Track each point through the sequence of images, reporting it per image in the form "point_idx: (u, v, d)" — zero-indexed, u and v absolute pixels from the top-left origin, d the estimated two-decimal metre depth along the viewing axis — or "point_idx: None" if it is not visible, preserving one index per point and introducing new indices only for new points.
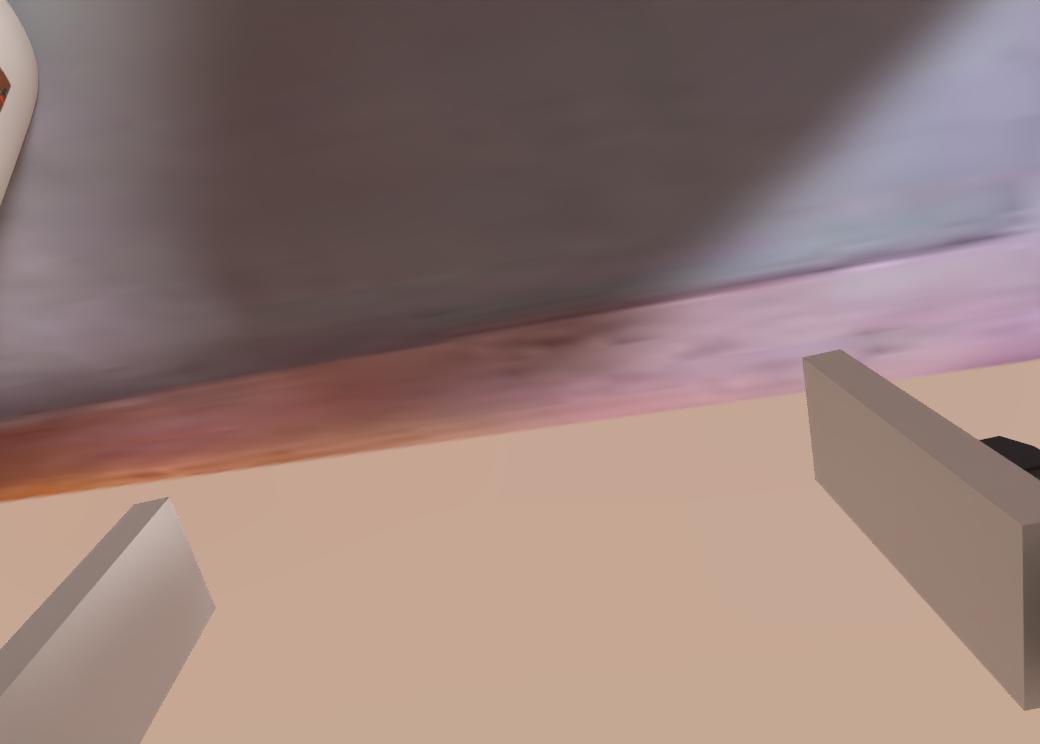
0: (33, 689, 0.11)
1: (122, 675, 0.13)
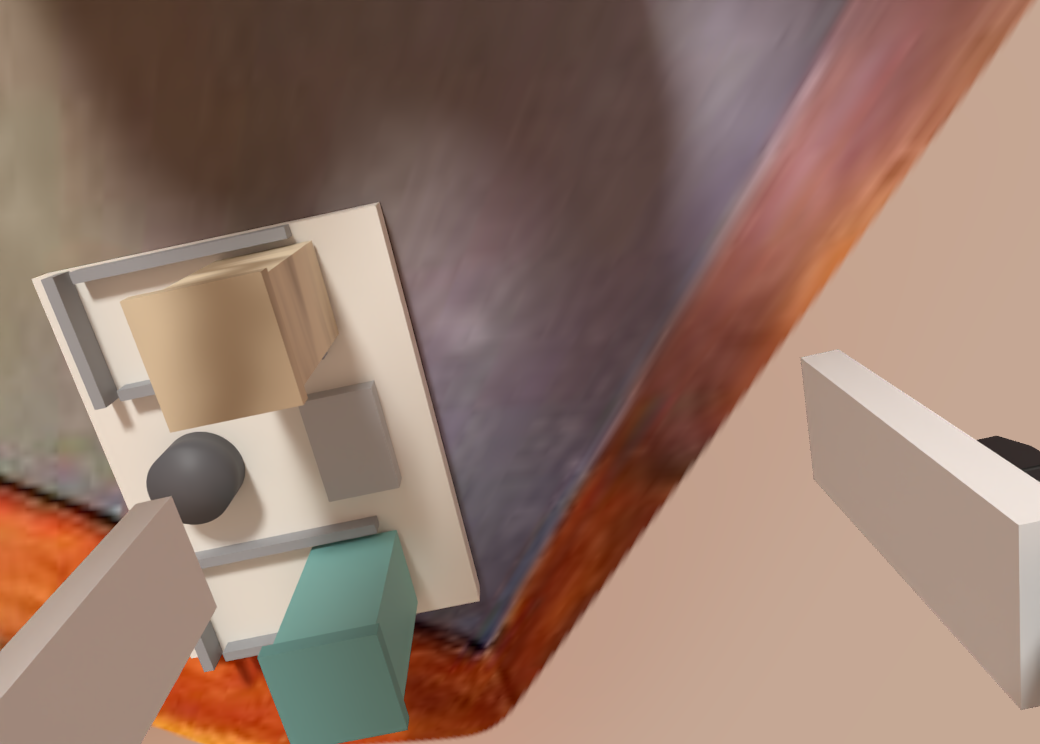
0: (36, 687, 0.11)
1: (124, 674, 0.13)
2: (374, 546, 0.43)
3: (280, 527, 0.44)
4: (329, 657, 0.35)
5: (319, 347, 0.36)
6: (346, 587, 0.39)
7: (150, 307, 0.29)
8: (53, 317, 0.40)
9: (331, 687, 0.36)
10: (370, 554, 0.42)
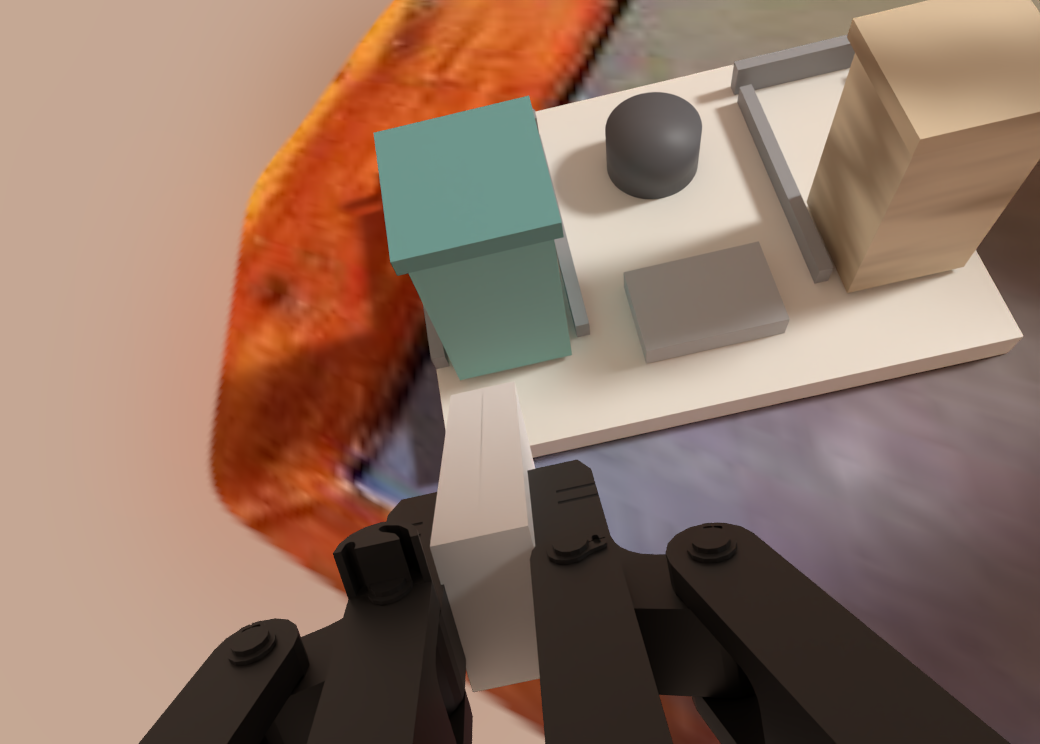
0: None
1: None
2: None
3: (574, 231, 0.36)
4: (525, 169, 0.25)
5: (888, 232, 0.29)
6: None
7: (1016, 3, 0.26)
8: None
9: (475, 172, 0.26)
10: None
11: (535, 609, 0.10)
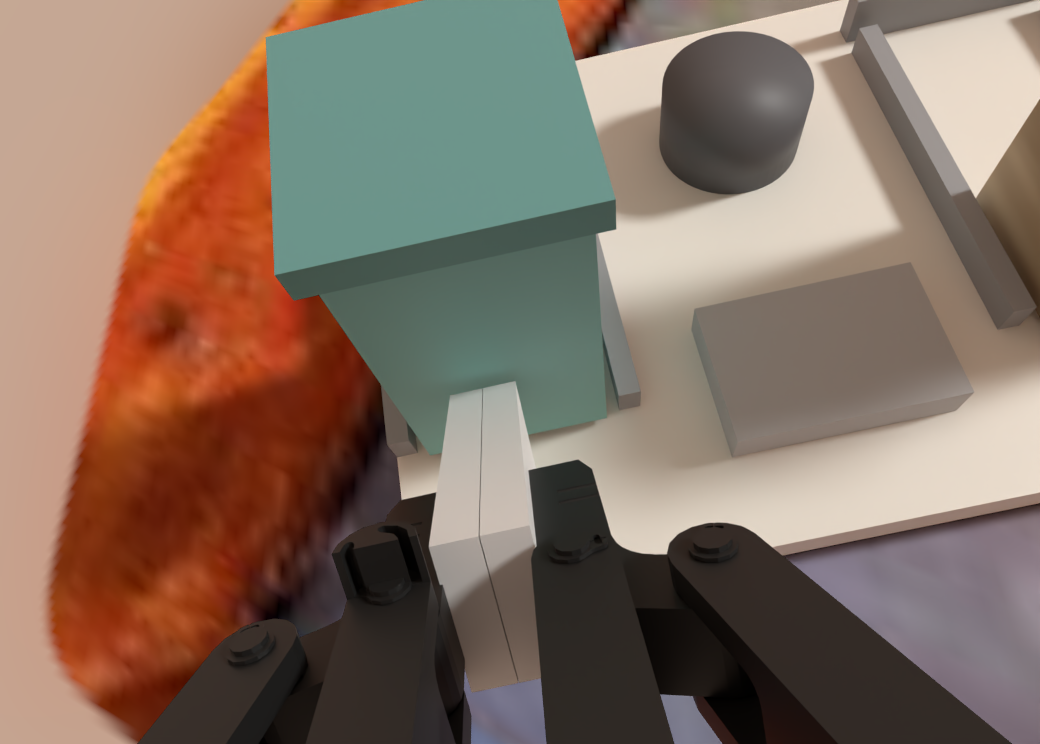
0: None
1: None
2: None
3: (611, 242, 0.24)
4: (542, 99, 0.13)
5: None
6: None
7: None
8: None
9: (446, 104, 0.13)
10: None
11: (536, 609, 0.10)
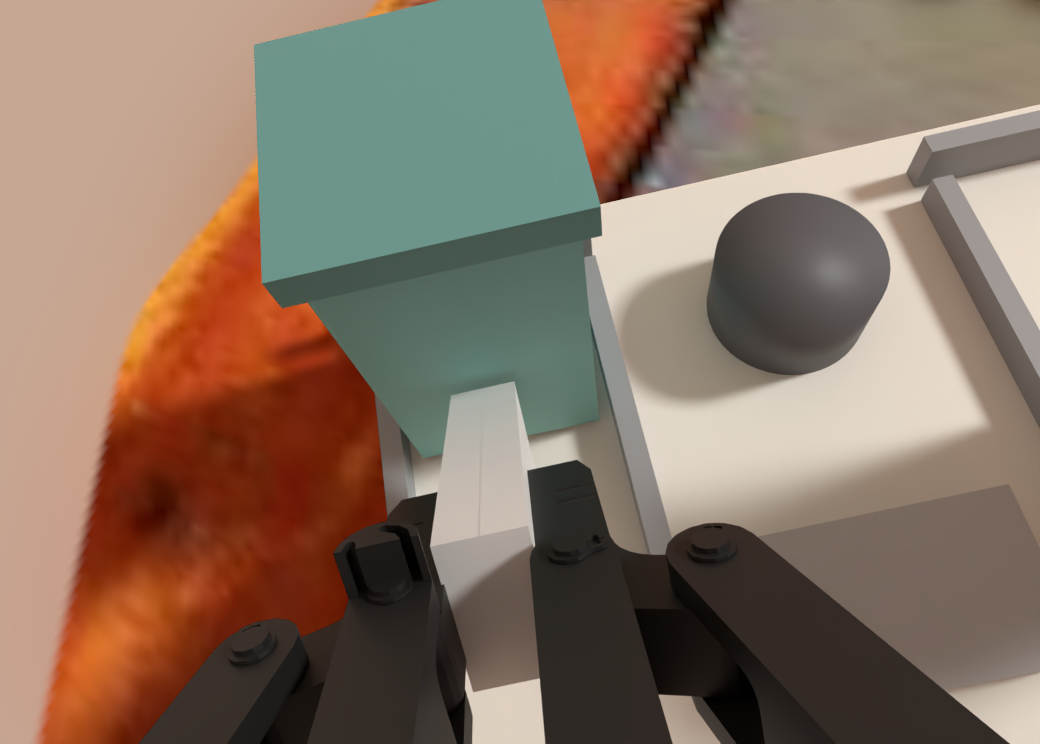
0: None
1: None
2: None
3: (656, 431, 0.21)
4: (528, 106, 0.13)
5: None
6: None
7: None
8: None
9: (433, 112, 0.14)
10: None
11: (535, 609, 0.10)
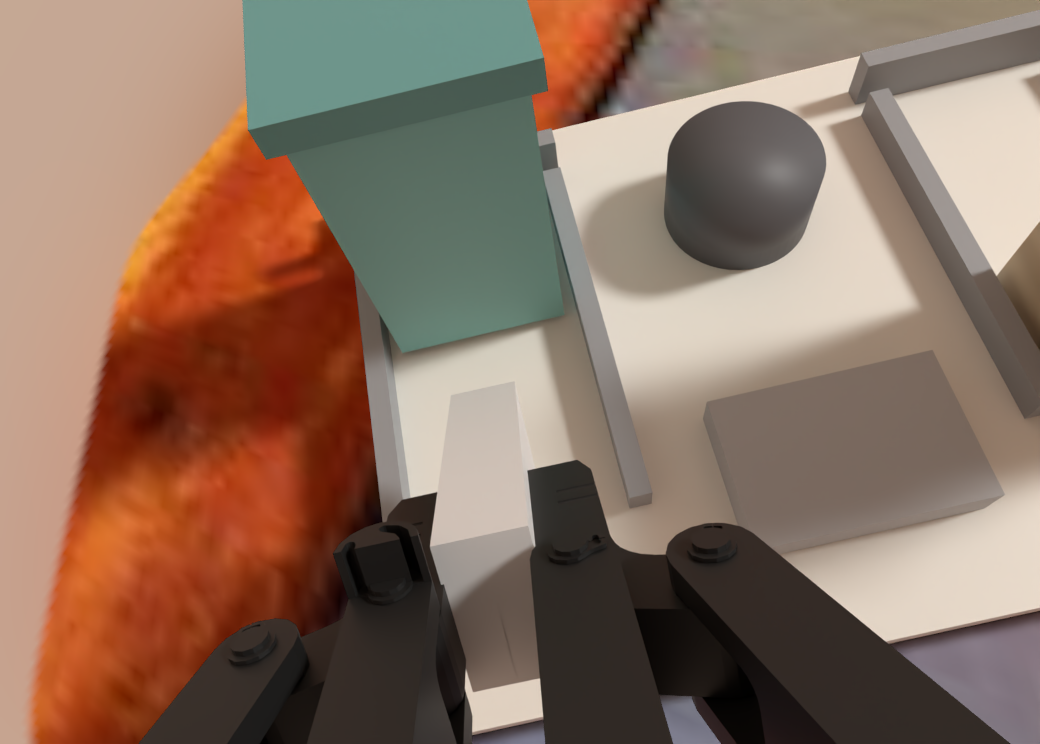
0: None
1: None
2: None
3: (617, 322, 0.23)
4: None
5: None
6: None
7: None
8: None
9: None
10: None
11: (535, 609, 0.10)
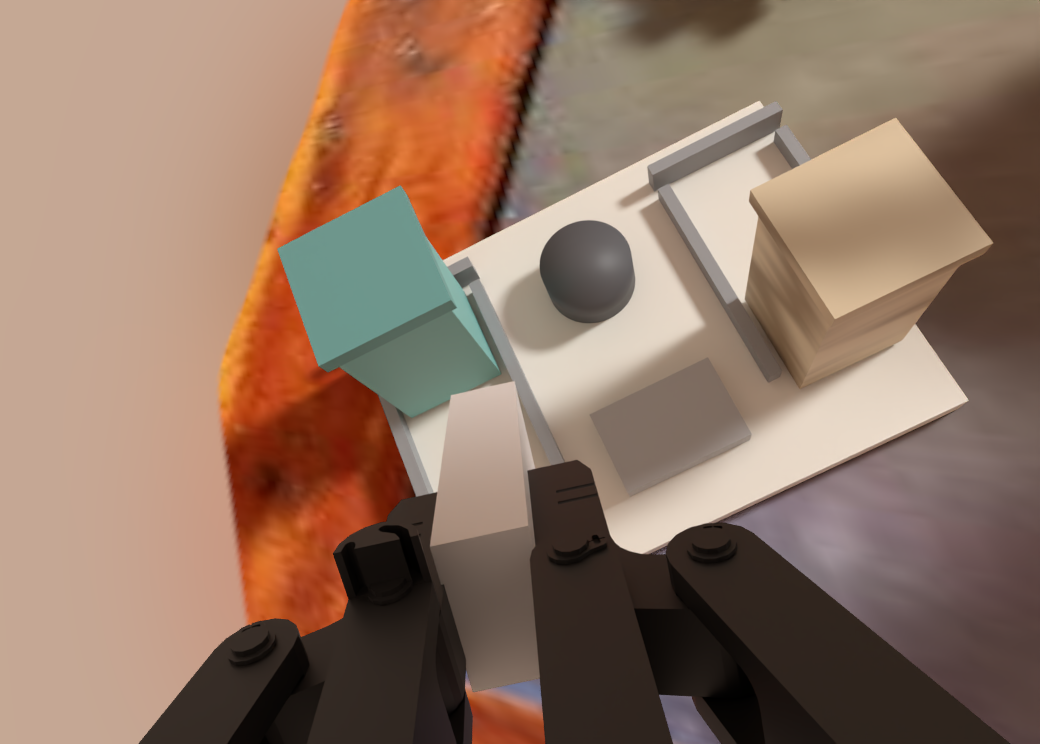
0: None
1: None
2: (485, 345, 0.37)
3: (533, 371, 0.38)
4: (411, 256, 0.29)
5: (825, 354, 0.31)
6: (457, 300, 0.34)
7: (900, 146, 0.27)
8: (724, 123, 0.40)
9: (370, 268, 0.30)
10: (481, 338, 0.36)
11: (535, 609, 0.10)
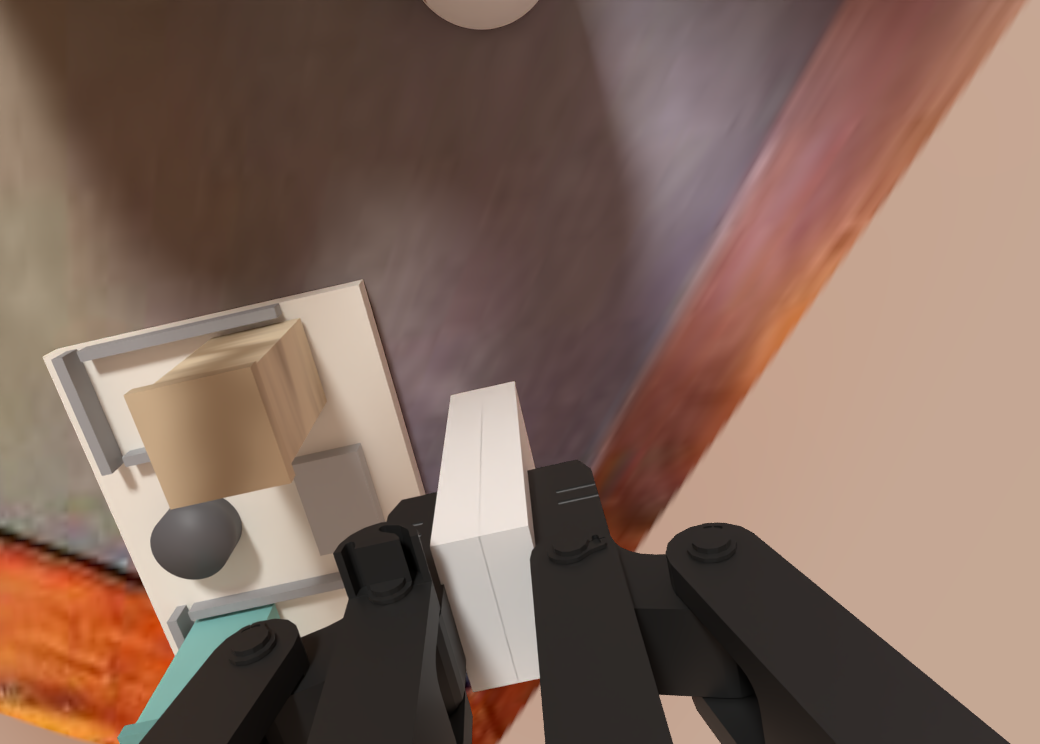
0: None
1: None
2: (250, 620, 0.46)
3: (275, 578, 0.47)
4: None
5: (307, 421, 0.39)
6: None
7: (151, 400, 0.33)
8: (62, 391, 0.43)
9: None
10: None
11: (535, 609, 0.10)
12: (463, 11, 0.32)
